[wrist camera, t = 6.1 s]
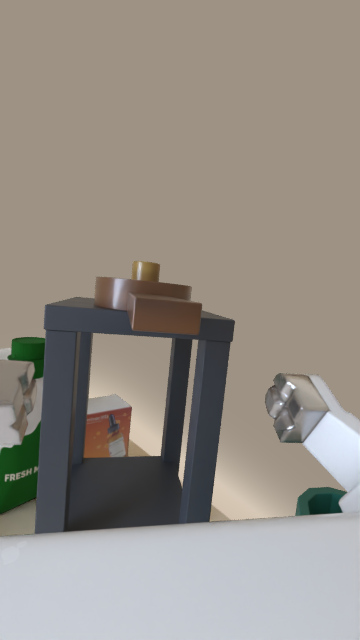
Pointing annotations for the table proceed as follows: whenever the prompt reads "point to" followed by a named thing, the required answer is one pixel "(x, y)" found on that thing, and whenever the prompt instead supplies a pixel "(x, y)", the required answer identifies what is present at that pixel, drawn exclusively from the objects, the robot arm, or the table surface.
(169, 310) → the lid
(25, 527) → the table surface
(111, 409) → the small box
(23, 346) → the milk carton
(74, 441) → the stand
